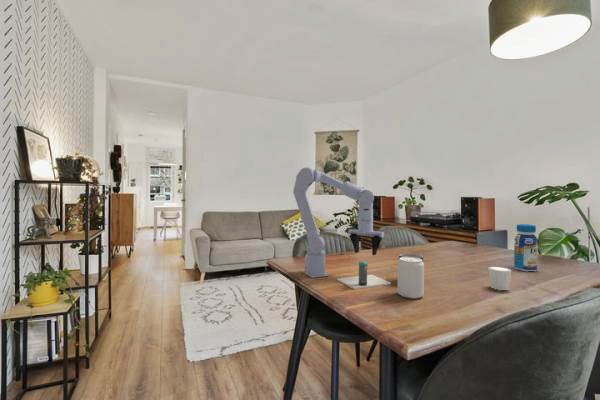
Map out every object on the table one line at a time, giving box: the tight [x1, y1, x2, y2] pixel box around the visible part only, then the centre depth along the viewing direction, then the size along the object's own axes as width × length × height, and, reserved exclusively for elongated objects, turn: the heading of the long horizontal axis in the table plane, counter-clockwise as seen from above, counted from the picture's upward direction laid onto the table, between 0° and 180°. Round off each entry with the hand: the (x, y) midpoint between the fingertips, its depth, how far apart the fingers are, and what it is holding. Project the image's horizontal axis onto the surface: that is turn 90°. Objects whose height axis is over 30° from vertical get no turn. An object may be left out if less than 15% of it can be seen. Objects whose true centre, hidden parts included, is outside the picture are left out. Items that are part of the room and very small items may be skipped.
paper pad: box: [336, 274, 392, 290], centre depth 112 cm, size 12×16×1 cm
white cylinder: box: [488, 266, 512, 291], centre depth 106 cm, size 7×7×7 cm
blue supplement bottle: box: [513, 223, 539, 272], centre depth 132 cm, size 8×8×20 cm
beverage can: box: [397, 257, 425, 300], centre depth 98 cm, size 8×8×12 cm
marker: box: [358, 261, 369, 286], centre depth 107 cm, size 3×3×8 cm
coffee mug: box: [398, 252, 424, 263], centre depth 114 cm, size 12×9×10 cm
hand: (365, 253), depth 119 cm, fingers open, 7 cm apart
